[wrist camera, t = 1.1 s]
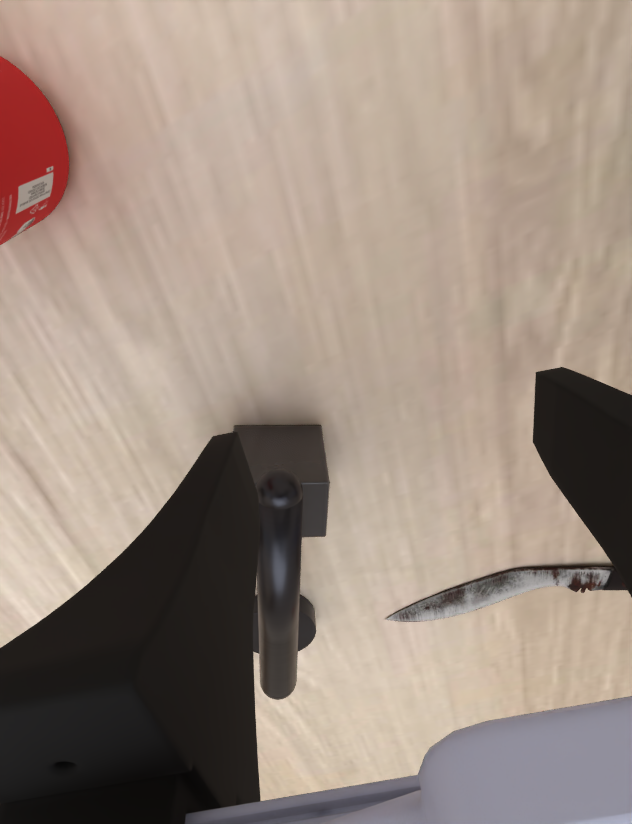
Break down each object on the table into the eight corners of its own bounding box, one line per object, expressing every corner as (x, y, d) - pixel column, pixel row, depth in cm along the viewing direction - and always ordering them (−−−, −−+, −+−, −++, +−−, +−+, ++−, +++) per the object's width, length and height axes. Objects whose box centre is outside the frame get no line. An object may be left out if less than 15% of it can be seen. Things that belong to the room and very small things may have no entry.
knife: (393, 657, 33) (381, 602, 30) (390, 638, 34) (378, 584, 31) (702, 608, 31) (715, 546, 29) (687, 590, 32) (698, 529, 30)
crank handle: (313, 636, 32) (320, 737, 27) (241, 639, 32) (235, 742, 27) (327, 402, 23) (341, 489, 18) (227, 402, 23) (215, 491, 18)
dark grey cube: (318, 475, 26) (326, 537, 22) (236, 476, 25) (230, 539, 22) (321, 424, 24) (330, 482, 21) (233, 424, 24) (226, 483, 20)
